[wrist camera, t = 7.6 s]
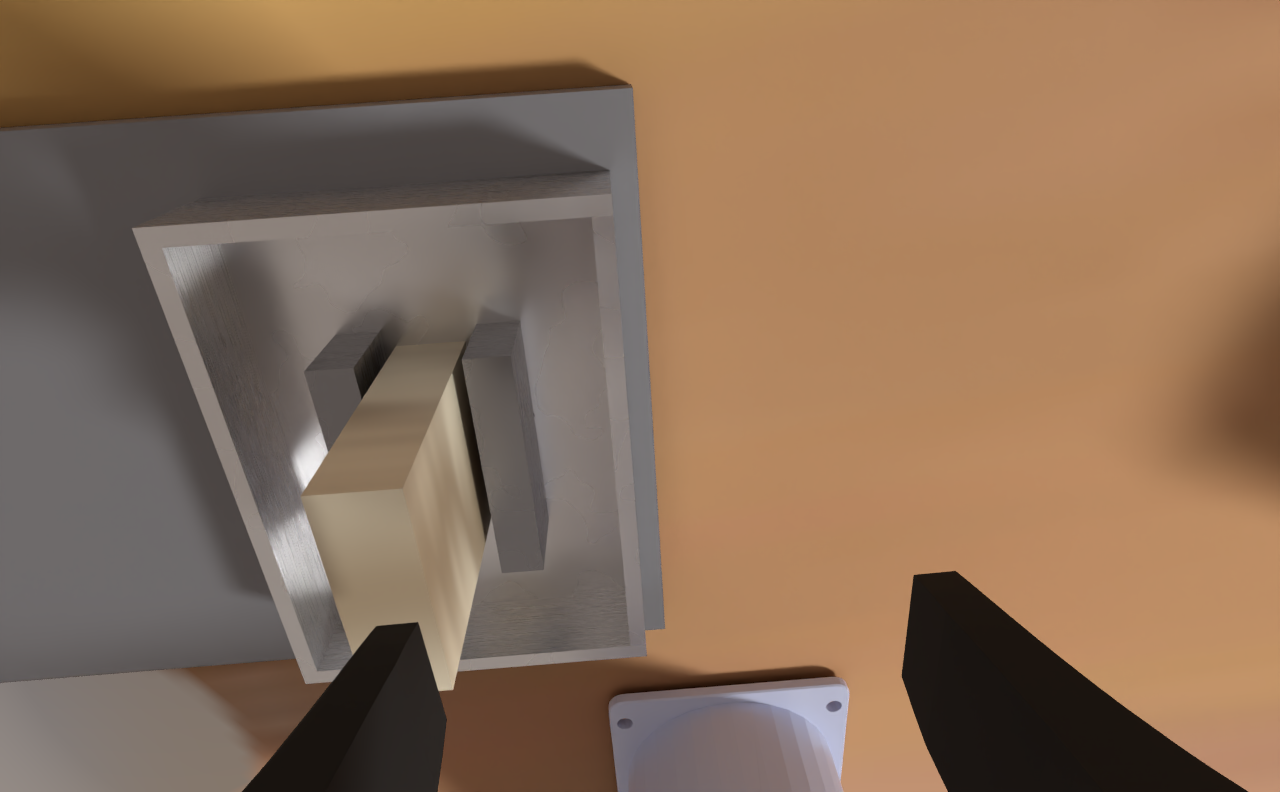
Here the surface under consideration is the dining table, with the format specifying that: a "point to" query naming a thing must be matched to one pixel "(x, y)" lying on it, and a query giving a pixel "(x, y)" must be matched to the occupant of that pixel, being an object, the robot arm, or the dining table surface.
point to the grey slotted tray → (411, 315)
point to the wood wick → (405, 505)
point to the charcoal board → (157, 379)
